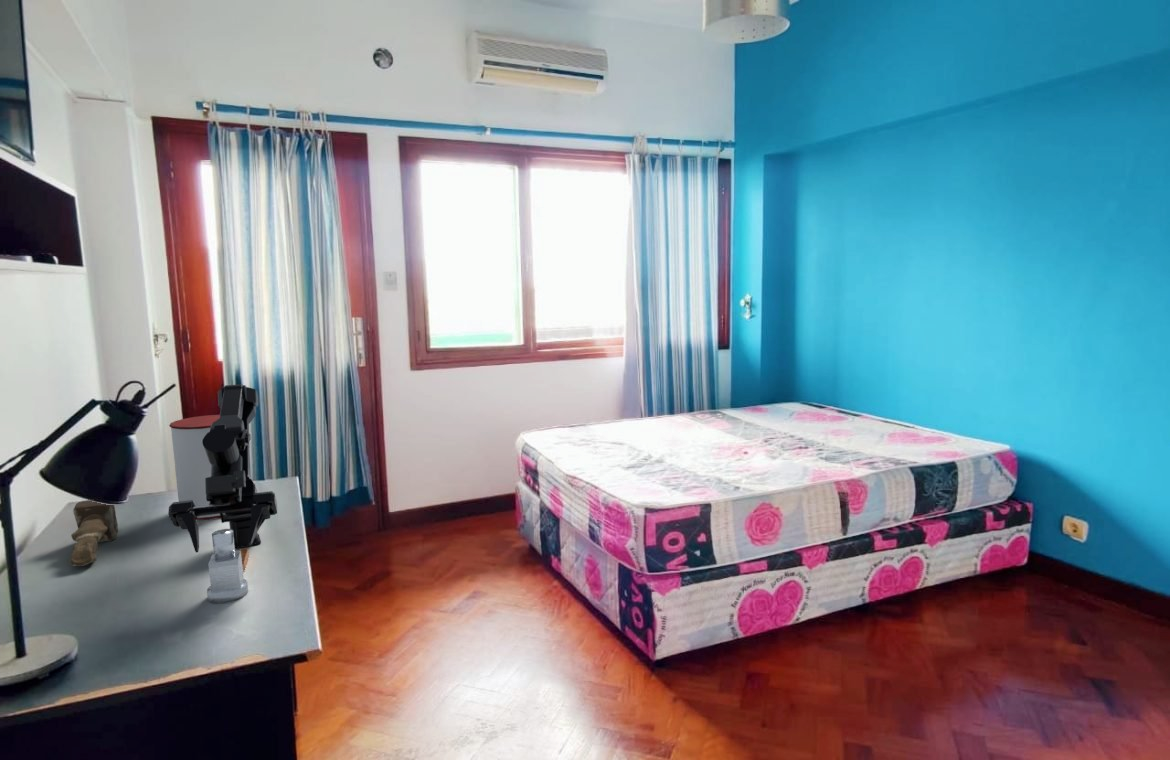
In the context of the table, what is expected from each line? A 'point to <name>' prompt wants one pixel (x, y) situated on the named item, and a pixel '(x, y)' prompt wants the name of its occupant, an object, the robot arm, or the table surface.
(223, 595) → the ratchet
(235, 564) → the clear square perfume bottle
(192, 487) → the container
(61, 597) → the table surface
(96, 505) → the brown boot
